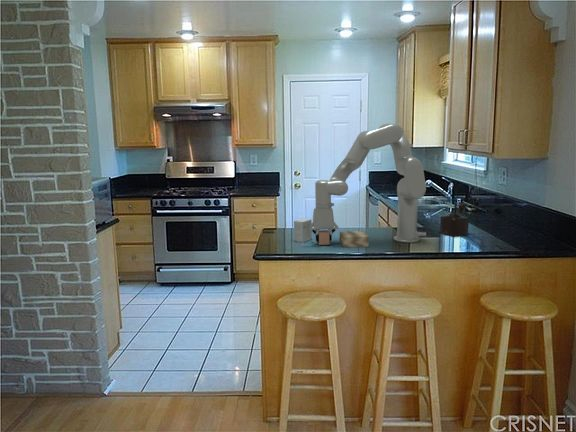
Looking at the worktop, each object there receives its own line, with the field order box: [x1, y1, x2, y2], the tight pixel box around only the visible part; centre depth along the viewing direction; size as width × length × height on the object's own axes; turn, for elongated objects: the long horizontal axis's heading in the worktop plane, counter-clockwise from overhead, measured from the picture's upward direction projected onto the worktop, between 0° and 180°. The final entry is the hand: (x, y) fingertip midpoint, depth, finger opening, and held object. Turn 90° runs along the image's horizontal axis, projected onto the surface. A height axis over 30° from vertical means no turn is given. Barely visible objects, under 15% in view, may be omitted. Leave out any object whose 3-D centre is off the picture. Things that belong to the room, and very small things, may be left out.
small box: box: [293, 217, 313, 243], centre depth 235 cm, size 8×6×10 cm
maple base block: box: [339, 230, 370, 248], centre depth 226 cm, size 12×12×5 cm
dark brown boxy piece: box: [439, 202, 470, 238], centre depth 240 cm, size 16×11×18 cm
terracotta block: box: [318, 229, 330, 246], centre depth 226 cm, size 5×5×6 cm
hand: (323, 241), depth 227 cm, fingers closed on terracotta block, 5 cm apart
